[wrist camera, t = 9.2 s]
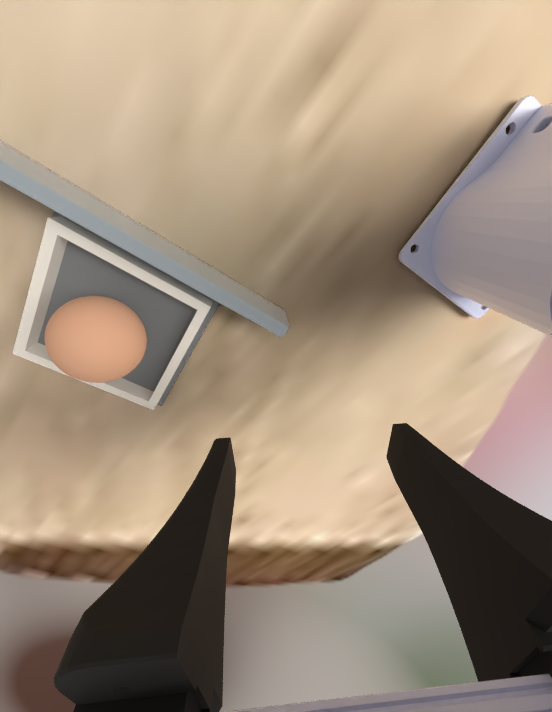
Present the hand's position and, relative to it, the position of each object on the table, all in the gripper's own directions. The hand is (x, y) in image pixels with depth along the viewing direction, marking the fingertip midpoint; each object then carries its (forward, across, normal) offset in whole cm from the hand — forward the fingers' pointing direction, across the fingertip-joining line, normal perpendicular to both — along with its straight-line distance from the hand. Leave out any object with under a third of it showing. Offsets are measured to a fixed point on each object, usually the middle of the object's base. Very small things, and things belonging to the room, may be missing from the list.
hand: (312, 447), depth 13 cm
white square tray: (+9, +11, -3) cm, 15 cm away
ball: (+7, +11, -3) cm, 13 cm away
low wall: (+9, +8, -8) cm, 15 cm away
